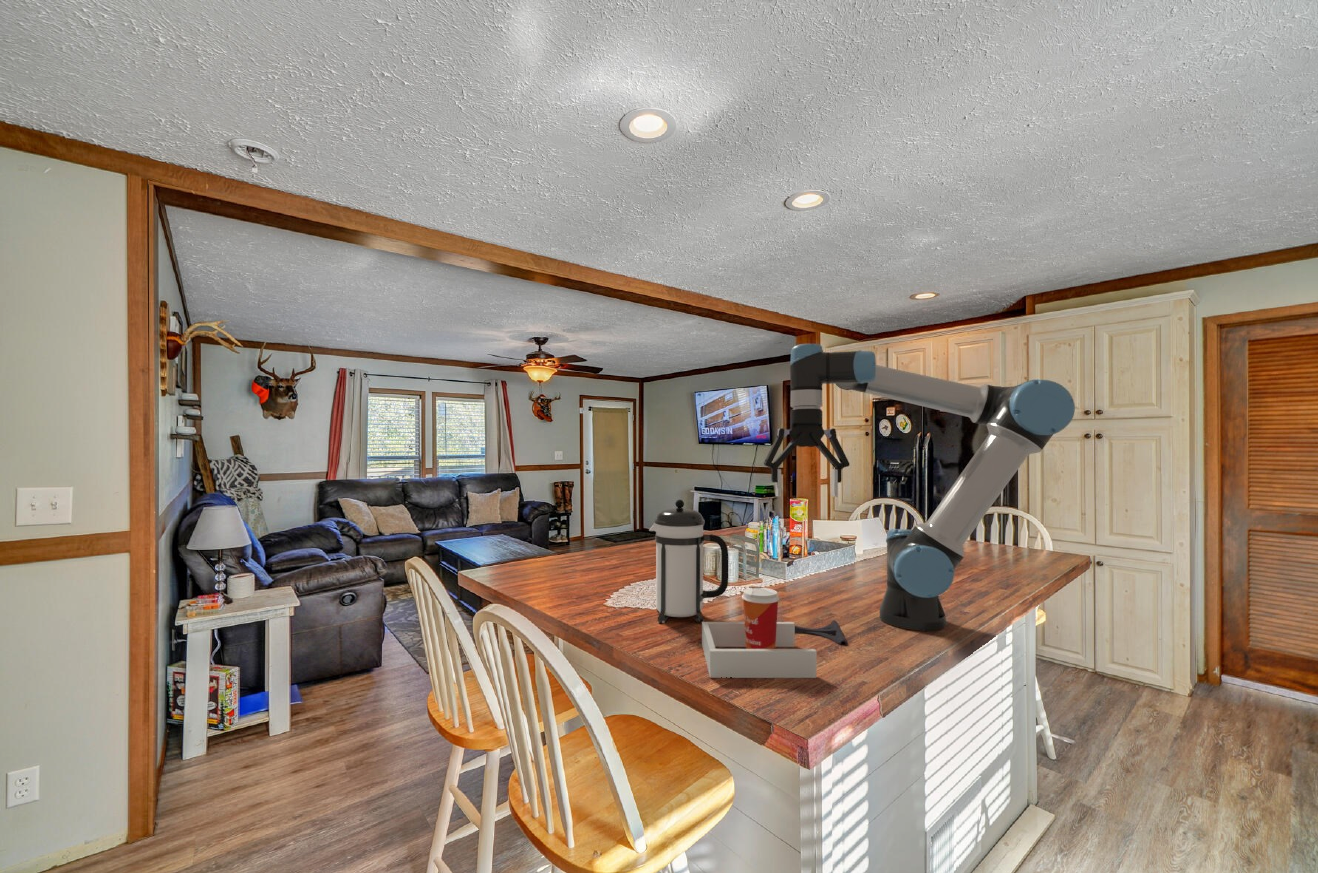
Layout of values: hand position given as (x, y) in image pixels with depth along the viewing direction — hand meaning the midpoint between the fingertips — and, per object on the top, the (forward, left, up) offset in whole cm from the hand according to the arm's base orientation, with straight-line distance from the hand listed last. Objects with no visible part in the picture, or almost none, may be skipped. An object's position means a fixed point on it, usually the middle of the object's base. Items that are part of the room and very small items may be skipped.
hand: (806, 496), depth 134 cm
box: (+16, +20, -32) cm, 41 cm away
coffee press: (+29, -9, -32) cm, 44 cm away
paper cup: (+15, +20, -32) cm, 40 cm away
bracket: (0, +3, -33) cm, 33 cm away
